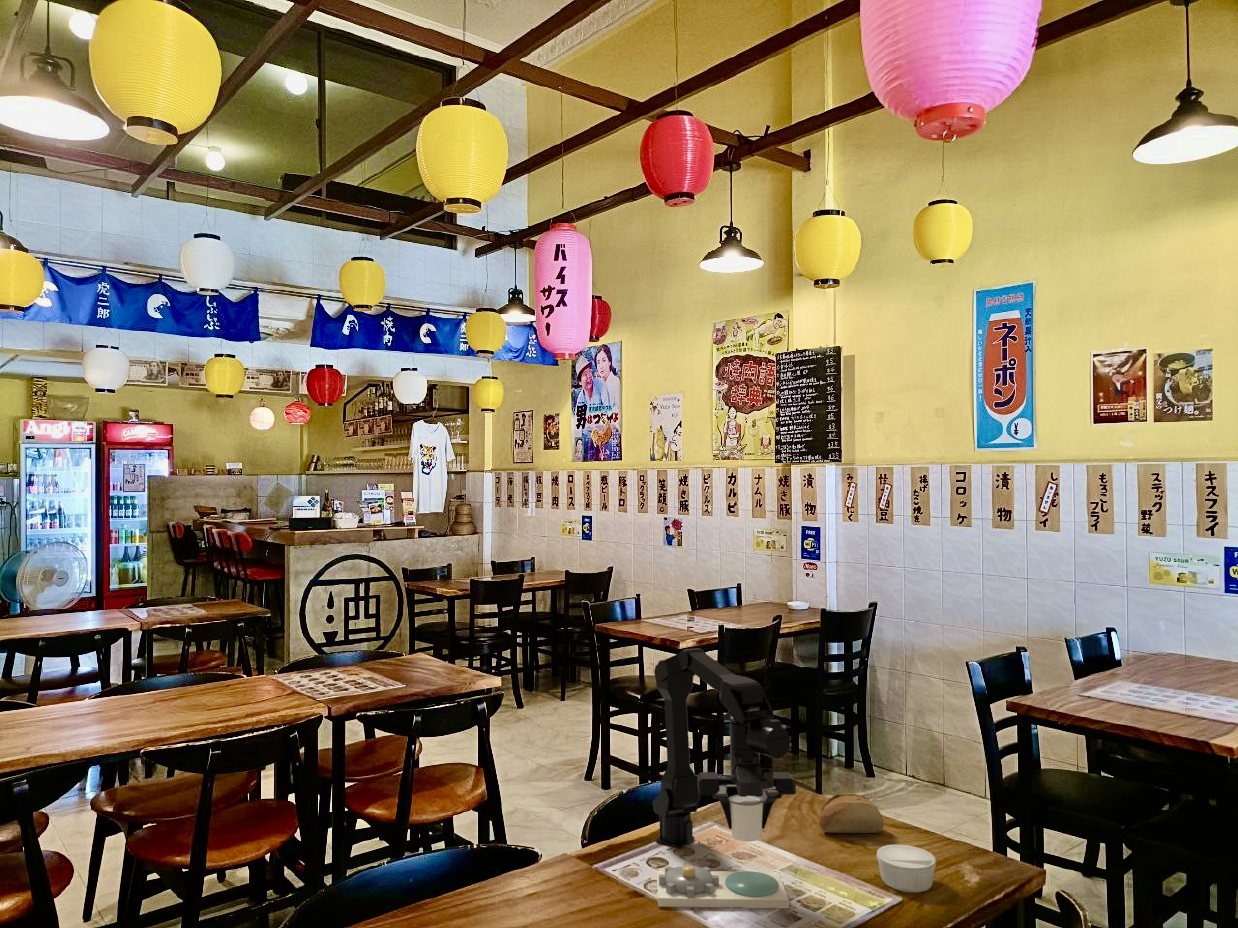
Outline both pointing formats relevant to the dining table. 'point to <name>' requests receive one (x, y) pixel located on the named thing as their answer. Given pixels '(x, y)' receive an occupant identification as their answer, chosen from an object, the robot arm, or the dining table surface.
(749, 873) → the gear board
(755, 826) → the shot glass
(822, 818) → the bread roll
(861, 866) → the dining table surface
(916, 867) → the ramekin
